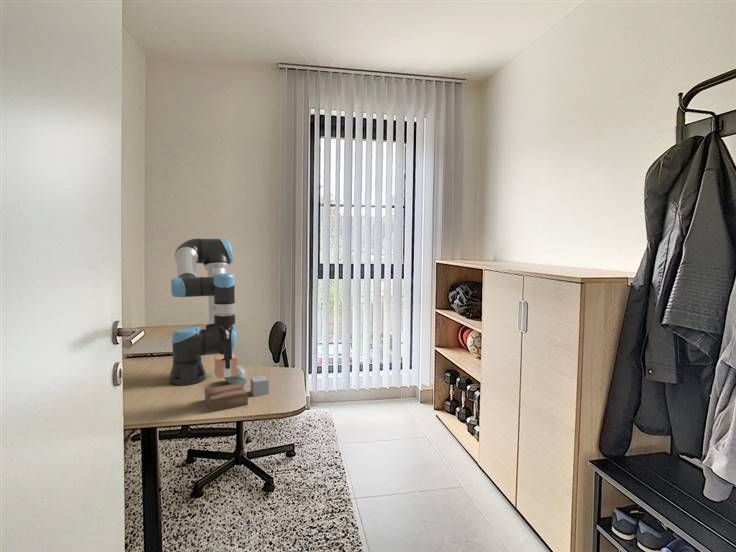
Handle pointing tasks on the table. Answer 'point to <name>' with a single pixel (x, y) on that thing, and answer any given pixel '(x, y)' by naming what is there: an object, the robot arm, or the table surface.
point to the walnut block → (226, 397)
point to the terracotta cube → (220, 366)
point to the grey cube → (259, 385)
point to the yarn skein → (238, 377)
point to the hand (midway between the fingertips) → (225, 373)
